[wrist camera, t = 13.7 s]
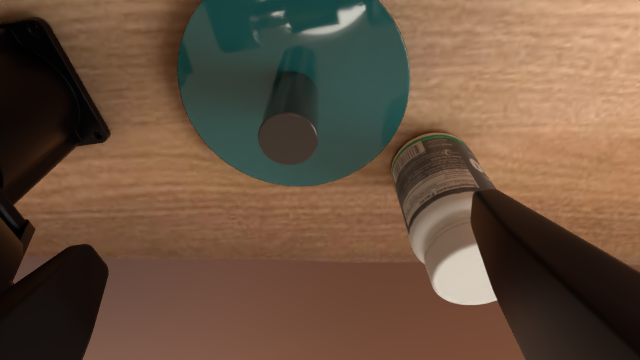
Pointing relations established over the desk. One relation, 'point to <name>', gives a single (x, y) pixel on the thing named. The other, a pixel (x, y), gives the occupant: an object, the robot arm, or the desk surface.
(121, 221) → the desk surface
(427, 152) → the pill bottle
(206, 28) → the lid
